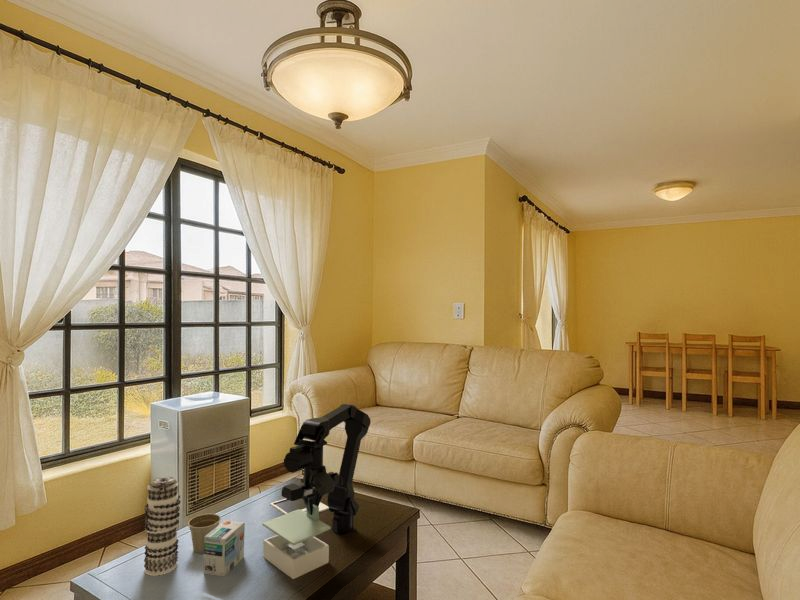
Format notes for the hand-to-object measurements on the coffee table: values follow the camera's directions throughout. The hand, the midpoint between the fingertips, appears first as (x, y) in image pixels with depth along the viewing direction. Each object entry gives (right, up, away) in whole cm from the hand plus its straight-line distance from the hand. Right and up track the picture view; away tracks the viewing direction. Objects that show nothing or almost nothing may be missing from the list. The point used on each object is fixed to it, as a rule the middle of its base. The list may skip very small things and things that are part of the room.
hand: (312, 514), depth 140 cm
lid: (-4, -3, -4) cm, 6 cm away
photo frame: (-11, -13, +33) cm, 37 cm away
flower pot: (-34, -12, +2) cm, 36 cm away
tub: (-4, -12, -4) cm, 13 cm away
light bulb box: (-24, -12, -7) cm, 28 cm away
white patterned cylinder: (-42, -12, -8) cm, 44 cm away
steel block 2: (-3, -11, -8) cm, 14 cm away
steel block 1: (-5, -11, -1) cm, 12 cm away
